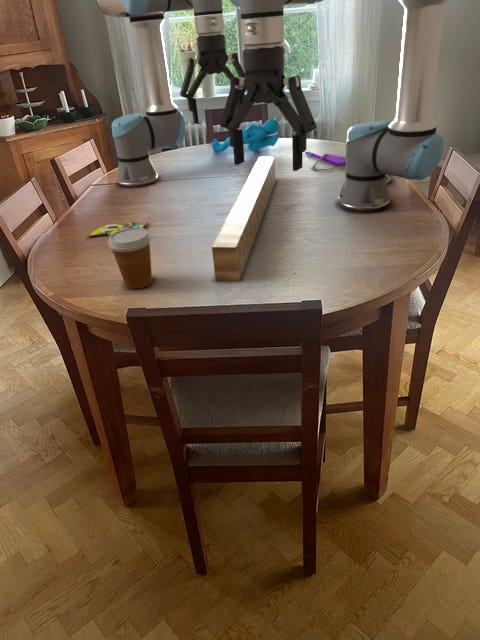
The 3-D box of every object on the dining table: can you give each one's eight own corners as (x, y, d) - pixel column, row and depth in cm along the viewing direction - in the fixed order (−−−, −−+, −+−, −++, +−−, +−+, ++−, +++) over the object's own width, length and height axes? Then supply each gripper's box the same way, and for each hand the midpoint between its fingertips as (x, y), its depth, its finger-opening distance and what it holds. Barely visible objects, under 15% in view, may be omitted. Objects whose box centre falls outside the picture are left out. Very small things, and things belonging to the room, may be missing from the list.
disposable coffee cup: (110, 289, 111) (98, 241, 105) (132, 270, 119) (122, 225, 112) (145, 294, 108) (135, 245, 101) (166, 275, 115) (157, 228, 109)
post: (260, 180, 173) (259, 156, 168) (275, 180, 172) (274, 156, 167) (215, 280, 111) (211, 247, 107) (239, 281, 110) (236, 247, 106)
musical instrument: (342, 175, 173) (362, 153, 185) (341, 169, 172) (361, 148, 184) (283, 174, 186) (305, 153, 198) (282, 169, 184) (305, 148, 196)
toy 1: (137, 233, 137) (87, 234, 139) (137, 236, 137) (88, 237, 139) (147, 220, 145) (100, 221, 147) (147, 223, 146) (101, 224, 148)
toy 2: (216, 133, 217) (279, 113, 206) (223, 156, 222) (286, 138, 212) (206, 142, 203) (273, 121, 193) (214, 166, 208) (280, 148, 198)
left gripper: (167, 39, 121) (180, 128, 132) (259, 29, 127) (263, 115, 138) (161, 39, 127) (173, 124, 138) (249, 29, 133) (253, 111, 144)
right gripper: (195, 50, 89) (207, 165, 101) (317, 45, 77) (315, 177, 89) (218, 46, 95) (227, 156, 106) (336, 41, 82) (332, 166, 94)
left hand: (218, 120), depth 138 cm, fingers open, 13 cm apart
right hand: (267, 166), depth 97 cm, fingers open, 13 cm apart
